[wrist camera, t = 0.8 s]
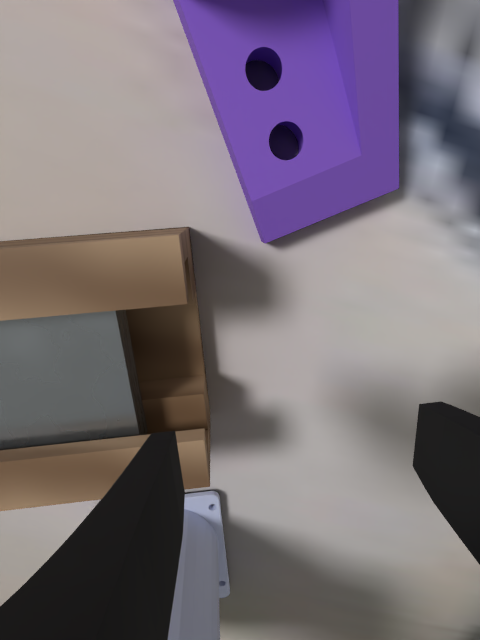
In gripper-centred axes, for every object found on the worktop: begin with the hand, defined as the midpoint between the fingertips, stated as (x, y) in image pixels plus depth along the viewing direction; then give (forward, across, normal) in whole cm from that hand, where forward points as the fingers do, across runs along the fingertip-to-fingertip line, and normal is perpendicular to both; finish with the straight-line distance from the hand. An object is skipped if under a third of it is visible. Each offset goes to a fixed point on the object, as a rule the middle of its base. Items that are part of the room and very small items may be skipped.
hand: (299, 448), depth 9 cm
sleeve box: (+10, +9, 0) cm, 14 cm away
